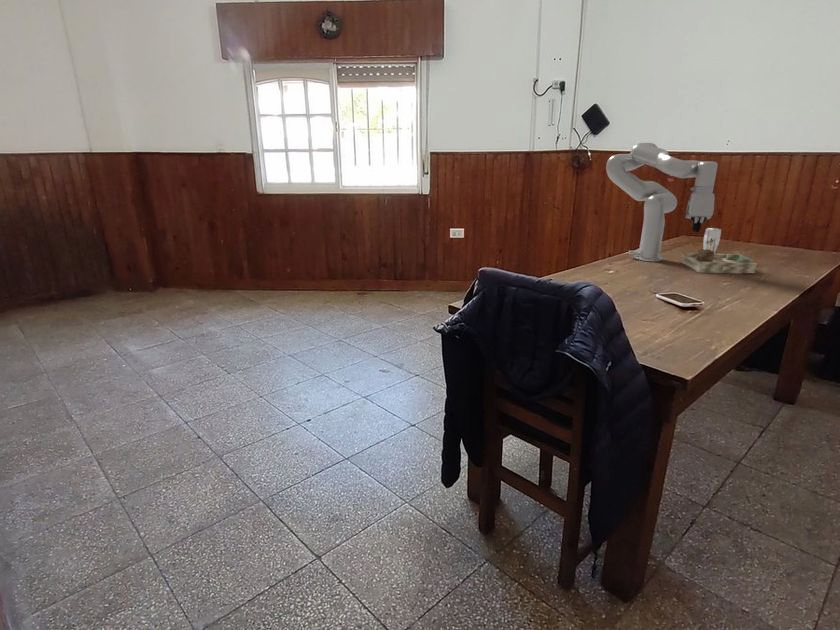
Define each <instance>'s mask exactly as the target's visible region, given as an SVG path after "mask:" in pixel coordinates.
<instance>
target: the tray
mask: <svg viewBox="0 0 840 630" xmlns="http://www.w3.org/2000/svg"><path fill="white" fill-rule="evenodd" d="M697 255H698V252H696V253H695V252H693V253H692V252H689V253H688V252H684V253H683V255H682V260H681V263H682V264H684V265H685V266H687V267H689V268H690V269H692V270H694V271H695V272H696V273H710V274H711V273H713V274H716V273H717V274H742V273H756V270H757V265H758V264H757V263H755V262H753V259H752V258H749V257H747V256H745V255H743V254H741V253H740V254H739V253H736V254H735V253H715V254H714V258H713V262H700V261H698V260H697Z"/></svg>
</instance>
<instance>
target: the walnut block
mask: <svg viewBox="0 0 840 630" xmlns="http://www.w3.org/2000/svg"><path fill="white" fill-rule="evenodd" d="M697 253H698V255H697V260H698V261H700V262H713V258H714V253H715V254H716V251H715V252H714V251H712V250H704V249H699V248H698V252H697Z"/></svg>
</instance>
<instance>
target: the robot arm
mask: <svg viewBox="0 0 840 630" xmlns="http://www.w3.org/2000/svg"><path fill="white" fill-rule="evenodd" d="M645 165H647V166H649V167H652V168H656V169H658V170H659V171H660V172H662V173H663V174H667V175H669V176H673V177H675V178H678V179H689V178H695V182H694V186H693V187H690V191H691V194H690V197H689V200H688V201H687V207H686V211H685V213H686V214H685V218H686V219H689V220H691V222H692V228H691V230H692V232H694V233H699V232H700V230H701V227H702V224H703V223H704V222H705V221H706V220H710V219H712V216H713V214H714V211H715V209H714V208H715V193H713V192H714V187H715V181H716V175H717V170H718V162H716V161H707V160H706V161H701V160H693V159H692V160H691V159H689V160H688V159H687V160H683V159H679V158H676V157H675V156H674V157H673V156H671V155H669V151H668V150H666V149H664V148H660V147H658V145H656V144H655V143H653V142H639V143H635V145H634V146H632V148H631V149H630V153H617V154H614V155H611V157H609V158H608V159H607V162H606V165H605V166H606V167H605V170H606V174H607V176H608V178H609V180H610V181H611V182H612V183H613V184H615V185H616V187H617V186H618V187H619V188H620V189H621V190H622V191H624V192H625V193H626V194H627V195H628V196H630V197H631V198H632V199H633V200H635V201H637V202H644V204H643V223H642V229H641V230H642V231H641V236H640V243H639V248H637V249H635V250H628V255H633V256H634V259H636V260H638V261H643V262H661V261H663V257H662V256H660V253H661V248H662V242H663V236H664V229H665V226H666V225H665V223H666V222H665V221H666V220H665V214H668V213H671V212H673V211H674V210H675V209H676V207H677V205H678V200H677V197H676V196H675V194H674V193H673V192H671V191H670V190H668V189H667V188H666V187H664V186H663V185H661V184H660V183H658V182H656V181H653V180H642V179H640V178H639V177H638V176H636V174H633V173H632V171H634V170H636V169H639V168H640V167H642V166H645ZM630 171H631V172H630Z"/></svg>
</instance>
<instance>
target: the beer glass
mask: <svg viewBox="0 0 840 630" xmlns="http://www.w3.org/2000/svg"><path fill="white" fill-rule="evenodd" d="M721 235H722V229H721V228H719V227H718V228H716V227H706V229H705V232H704V235H703V243H702V244H703V245H702V246H703V247H702V248H703V249H704V250H712V251H714V252H715V253H714V254H716V251H717V248H718V246H719V243H720V241H721Z"/></svg>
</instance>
